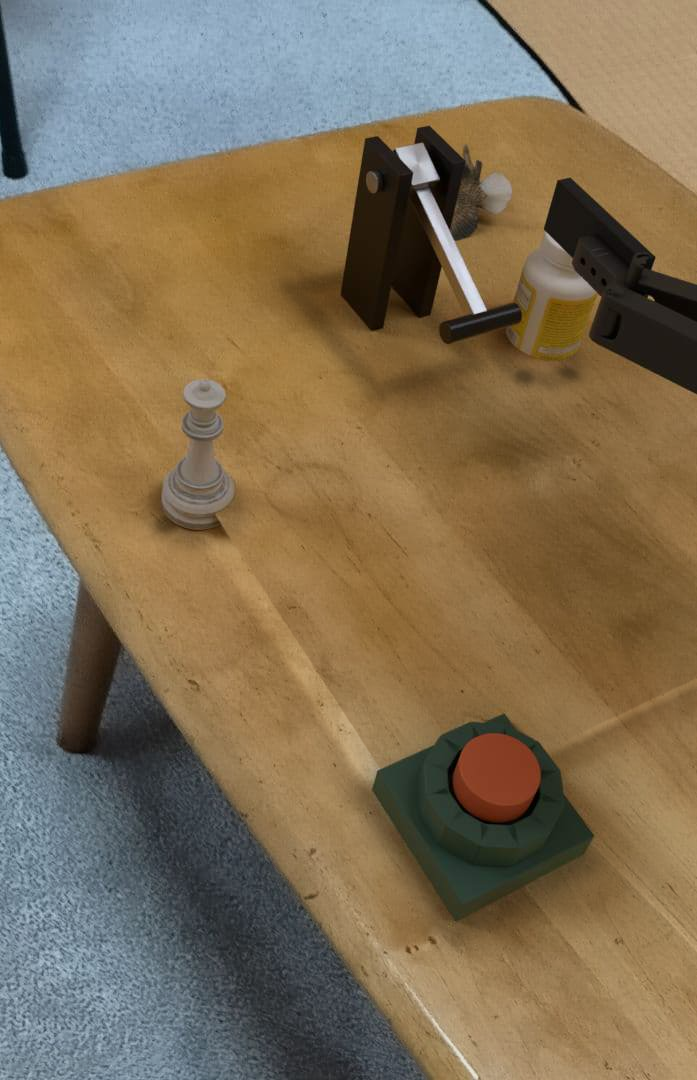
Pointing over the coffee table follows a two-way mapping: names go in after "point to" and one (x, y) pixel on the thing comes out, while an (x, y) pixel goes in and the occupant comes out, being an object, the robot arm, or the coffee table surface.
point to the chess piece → (199, 463)
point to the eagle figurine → (478, 197)
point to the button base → (478, 823)
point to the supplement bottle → (551, 304)
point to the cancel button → (496, 778)
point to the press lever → (451, 256)
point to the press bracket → (396, 230)
